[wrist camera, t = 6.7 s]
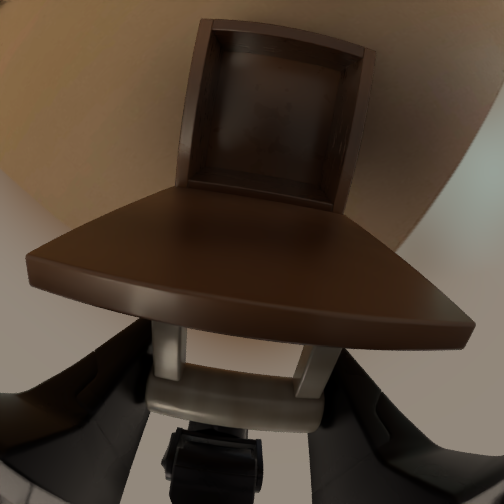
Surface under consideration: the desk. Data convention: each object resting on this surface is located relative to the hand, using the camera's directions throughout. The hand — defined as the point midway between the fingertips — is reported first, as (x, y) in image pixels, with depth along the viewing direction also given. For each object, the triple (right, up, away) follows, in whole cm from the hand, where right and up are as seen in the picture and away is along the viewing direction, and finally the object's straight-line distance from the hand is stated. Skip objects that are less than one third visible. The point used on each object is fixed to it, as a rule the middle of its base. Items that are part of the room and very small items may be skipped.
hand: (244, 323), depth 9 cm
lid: (+1, +3, -1) cm, 3 cm away
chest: (+1, +10, +6) cm, 12 cm away
